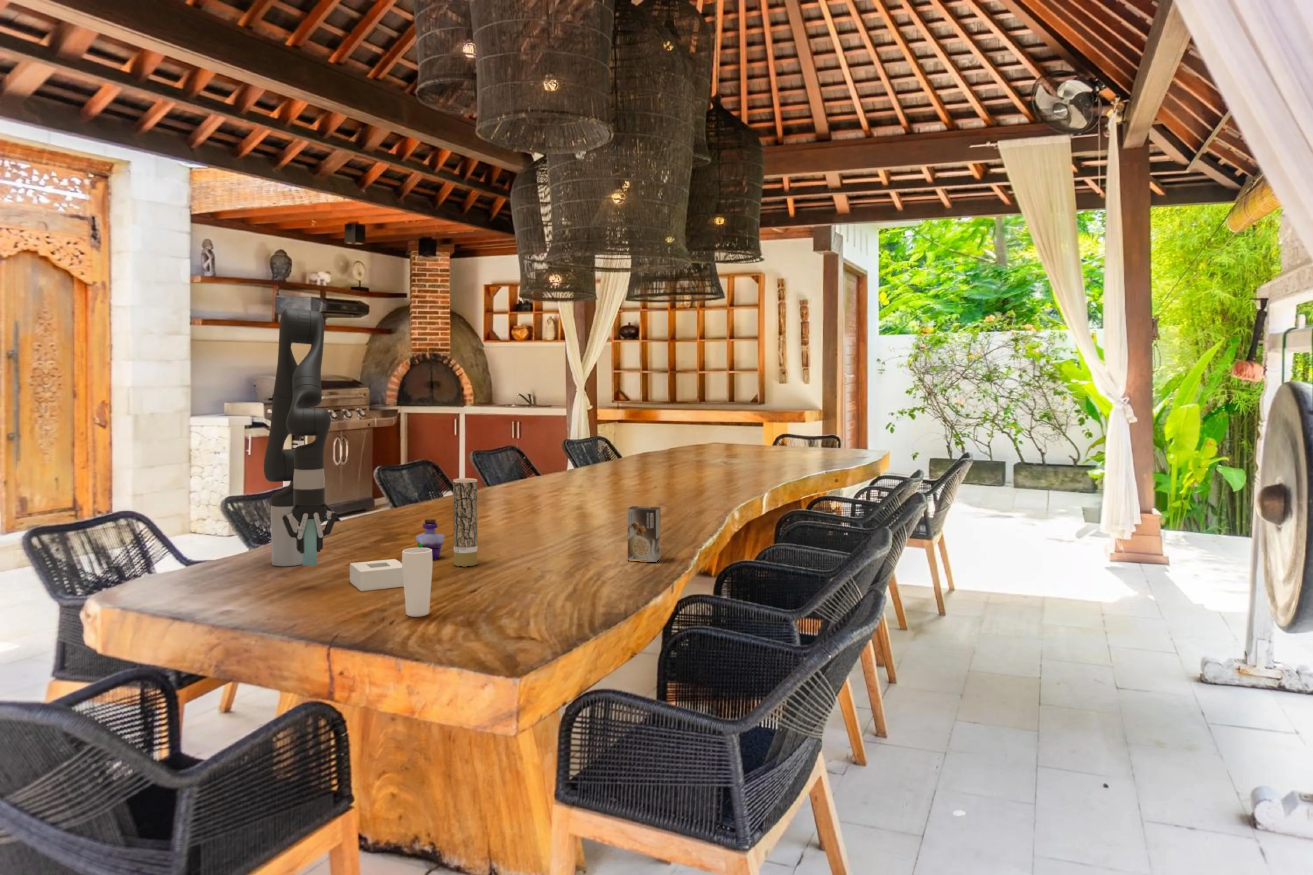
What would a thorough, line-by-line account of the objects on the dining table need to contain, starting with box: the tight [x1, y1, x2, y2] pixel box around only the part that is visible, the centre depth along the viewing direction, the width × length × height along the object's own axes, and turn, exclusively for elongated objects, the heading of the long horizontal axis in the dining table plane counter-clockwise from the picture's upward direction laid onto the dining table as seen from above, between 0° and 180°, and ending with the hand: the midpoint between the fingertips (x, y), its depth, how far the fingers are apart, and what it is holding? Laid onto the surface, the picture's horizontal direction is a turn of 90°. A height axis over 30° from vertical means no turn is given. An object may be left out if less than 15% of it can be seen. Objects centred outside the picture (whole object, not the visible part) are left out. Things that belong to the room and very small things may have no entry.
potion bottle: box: [415, 518, 445, 561], centre depth 273 cm, size 9×9×12 cm
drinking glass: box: [401, 547, 433, 618], centre depth 209 cm, size 7×7×15 cm
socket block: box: [349, 558, 404, 592], centre depth 239 cm, size 12×12×5 cm
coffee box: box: [627, 505, 661, 561], centre depth 273 cm, size 9×6×16 cm
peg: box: [301, 519, 318, 567], centre depth 234 cm, size 4×4×12 cm
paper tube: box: [452, 477, 478, 568], centre depth 263 cm, size 7×7×25 cm
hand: (309, 551), depth 234 cm, fingers closed on peg, 3 cm apart
